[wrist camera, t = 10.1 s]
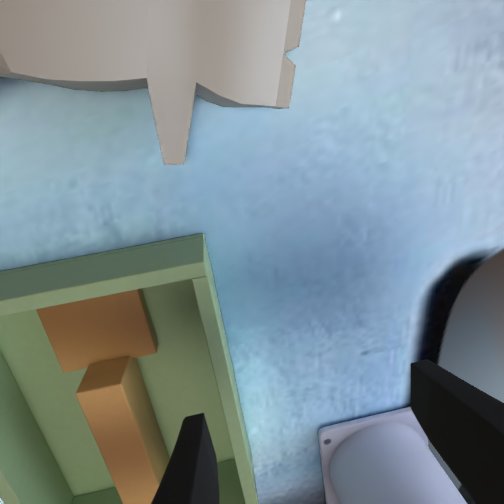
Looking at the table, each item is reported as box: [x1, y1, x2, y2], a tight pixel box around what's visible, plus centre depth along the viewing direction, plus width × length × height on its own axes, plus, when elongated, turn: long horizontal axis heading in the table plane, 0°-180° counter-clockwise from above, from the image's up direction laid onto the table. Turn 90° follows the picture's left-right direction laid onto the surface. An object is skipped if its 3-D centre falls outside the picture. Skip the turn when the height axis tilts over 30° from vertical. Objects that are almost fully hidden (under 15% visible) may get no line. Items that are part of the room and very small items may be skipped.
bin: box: [0, 233, 259, 504], centre depth 19 cm, size 16×12×4 cm
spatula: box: [36, 289, 170, 504], centre depth 19 cm, size 13×5×3 cm, turn 9°
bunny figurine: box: [0, 0, 306, 164], centre depth 13 cm, size 10×5×15 cm
